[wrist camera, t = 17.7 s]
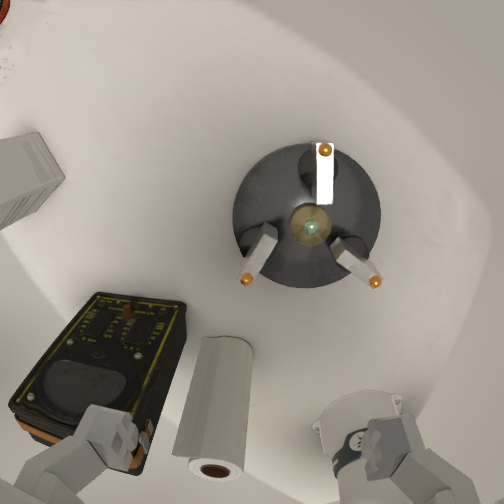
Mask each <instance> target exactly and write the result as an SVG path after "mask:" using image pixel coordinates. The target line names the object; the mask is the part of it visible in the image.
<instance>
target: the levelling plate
mask: <svg viewBox="0 0 504 504" xmlns="http://www.w3.org/2000/svg"><path fill="white" fill-rule="evenodd" d="M309 149H311V144H297V145H292V146H287V147H284V148H281V149H279V150H276V151H274V152H272V153H270V154H269V155H267V156H266V157H264V158H263V159H261V160H260V161H259V162H258V163H257V164H256V165H255V166H254V167H253V168H252V169H251V170H250V171H249V173H248V174H247V175H246V177H245V178H244V180H243V182H242V184H241V186H240V188H239V190H238V193H237V195H236V199H235V202H234V208H233V229H234V234H235V238H236V241H237V243H238V246H239V248H240V240H241V236H242V234H243V233H244V232H245V230H247V229H248V228H250V227H252V226H256V225H261V226H263V224H264V222H266V223H268V224H270V225H272V226H274V227H276V228H277V233H278V242H277V252H276V254H275V256H274V257H273V258H272V259H271V260H270V261H268V262H266V263H264V265H263V267H262V268H261V270H260V272H259V273H261V274H262V275H263V276H265V277H266V278H268V279H270V280H272V281H274V282H277V283H279V284H282V285H285V286H289V287H296V288H314V287H320V286H325V285H328V284H331V283H334V282H336V281H338V280H340V279H342V278H344V277H345V276H347V275H349V274H350V273H351V272H346V271H343V270H341V269H340V268H339V267H338V266H337V265H336V262H335V260H334V258H333V253H332V251H331V249H330V246H331V245H332V243H333V242H334V241H335V240H336V239H337V237H339V238H342V237H344V236H347V235H356V236H358V237H360V238H362V239H363V241H364V242H365V243H366V245H367V246H368V248H369V253H370V251H371V249H372V248H373V246H374V243H375V241H376V239H377V235H378V232H379V227H380V221H381V210H380V202H379V198H378V194H377V191H376V189H375V186H374V184H373V182H372V181H371V179H370V177H369V176H368V174H367V173H366V172H365V170H364V169H363V168H362V167H361V166H360V165H359V164H358V163H357V162H356V161H354V160H353V159H352V158H350V157H349V156H347V155H346V154H344V153H342V152H340V151H338V150H335V149H333V156H334V157H335V158H336V160H337V163H338V168H339V169H338V175H337V177H336V179H335V181H334V182H333V204H316V202H315V200H314V199H313V197H312V187H311V186H309V185H307V184H306V183H305V182H304V181H303V180H302V178H301V177H300V175H299V172H298V162H299V159H300V157H301V156H302V155H303V153H305V152H306V151H307V150H309Z"/></svg>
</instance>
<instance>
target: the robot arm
mask: <svg viewBox="0 0 504 504" xmlns="http://www.w3.org/2000/svg"><path fill="white" fill-rule="evenodd" d="M396 400H400V402H399V403H398V404H395V401H396ZM401 404H402V395H401V394H388V393H385V392H382V391H377V390H362V391H356V392H353V393H349V394H347V395H344V396H342V397H340V398H338V399H336V400H335V401H333V402H332V403H331V404H330V405H329V406H328V407H327V408H326V409H325V410H324V412H323V413H322V415H321V416H320V418H319V419H318V420H317V421H315V422H314V423H313V424H312V425H311V428H312V429H313V430H315V431H316V432H317V433H318V434H319V435H320V436H321V442H322V448H323V452H324V454H326V455H327V456H328V457H330V458H332V461H333V471H334V475H335V477H336V478H337V479H338V487H339V496H340V504H480V501H479V498H478V495H477V492H476V489H475V486H474V484H473V481H472V480H471V479H470V478H469V477H467V476H466V475H465V474H463V473H462V472H460V471H459V470H458V469H456V468H455V467H454V466H452V465H451V464H449V463H448V462H447V461H445V460H444V459H443V458H441V457H440V456H439V455H437V454H436V453H435V452H433V451H432V450H431V449H429V448H428V449H425V446H424V443H423V441H422V438H421V435H420V433H419V430H418V428H417V425H416V422H415V419H414V417H413V415H412V414H404V415H400V411H401ZM131 420H132V416H131V414H130V412H125V411H120V410H115V409H110V408H106V407H102V406H97V405H93V404H91V405H90V406H89V407H88V408H87V410H86V412H85V414H84V416H83V417H82V419H81V421H80V423H79V425H78V427H77V429H76V431H75V433H74V435H73V436H70V435H69V436H68V437H66V438H65V439H63V440H61V441H60V442H58V443H56V444H55V445H53V446H51V447H50V448H48V449H46V450H44V451H43V452H41V453H39V454H38V455H36V456H34V457H32V458H31V459H29V460H27V461H26V463H25V465H24V467H23V468H22V471H21V472H20V474H19V476H18V478H17V480H16V482H15V484H14V486H13V485H11V484H9V483H7V482H6V481H4V480H2V479H1V478H0V504H84V502H83V501H82V500H81V499H80V498H79V497H78V496H76V494H77V493H78V492H79V491H81V490H82V489H83V488H84V487H85V486H87V485H88V484H89V483H90V482H91V481H92V480H94V479H95V478H96V477H97V476H99V475H100V474H101V473H102V472H103V471H105V469H107V467H110V468H114V469H118V470H123V471H127V472H128V469H129V466H130V464H131V461H132V458H133V457H132V455H131V453H130V452H131V451H133V450H134V449H135V448H136V446H137V443H138V435H139V434H138V429H137V427H136V425H135V424H133V423H132V422H131ZM317 427H319V430H316V428H317ZM492 504H504V498H502V499H500V500H498V501H496V502H494V503H492Z"/></svg>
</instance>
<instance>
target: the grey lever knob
mask: <svg viewBox="0 0 504 504" xmlns="http://www.w3.org/2000/svg"><path fill="white" fill-rule="evenodd" d="M338 169H339V168H338V163H337V160H336V158H335V157H334V156H333V144H332V143H329V142H320V141H311V149H309V150H307V151H306V152H305V153H303V155H302V156H301V157H300V159H299V162H298V172H299V175H300V177H301V178H302V180H303V181H304V182H305V183H306V184H307V185H309V186H311V187H312V197H313V199H314V200H315V202H316V204H333V182H334V181H335V179H336V177H337V175H338Z"/></svg>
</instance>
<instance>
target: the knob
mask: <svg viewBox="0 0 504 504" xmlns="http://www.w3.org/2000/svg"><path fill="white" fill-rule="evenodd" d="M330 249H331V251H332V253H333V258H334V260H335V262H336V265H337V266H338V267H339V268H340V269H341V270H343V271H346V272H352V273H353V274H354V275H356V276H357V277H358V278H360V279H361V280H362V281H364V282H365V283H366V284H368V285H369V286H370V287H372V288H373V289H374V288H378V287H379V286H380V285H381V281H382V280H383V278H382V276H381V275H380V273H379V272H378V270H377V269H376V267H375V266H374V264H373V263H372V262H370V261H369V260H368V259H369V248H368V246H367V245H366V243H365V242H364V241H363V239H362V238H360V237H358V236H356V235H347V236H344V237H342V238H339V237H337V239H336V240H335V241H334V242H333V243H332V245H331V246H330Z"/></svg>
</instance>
